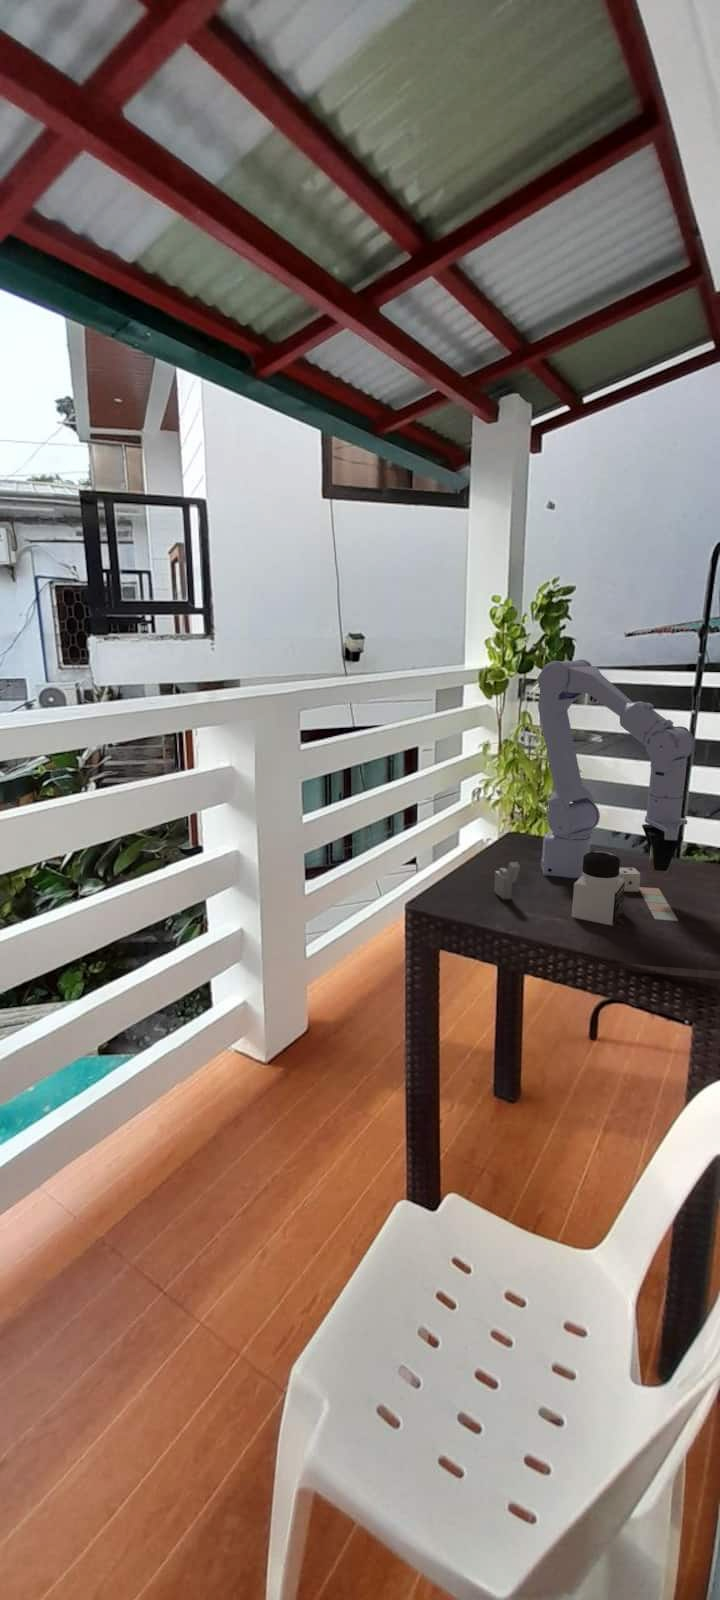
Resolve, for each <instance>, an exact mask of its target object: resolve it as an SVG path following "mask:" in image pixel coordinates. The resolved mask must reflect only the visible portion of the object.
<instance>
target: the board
mask: <svg viewBox="0 0 720 1600" xmlns="http://www.w3.org/2000/svg"><path fill="white" fill-rule="evenodd" d="M639 892H640V893H641V896H642V897H643V899H644V901H645V903H646V905H647V907H648V909H649V911H650V913H651V914H652V917H653V918H654V920H656V921H657V920H659V921H660V920H661V921H671V922H679V919H678V917H677V916H676V914H675V912H674V910H672V908H671V906H670V904H669V902H668V901H667V900H666V898H665V896H664V894H663V893H662V891H661V890H660V888H657V887H644V886H643V887H642V886H639Z"/></svg>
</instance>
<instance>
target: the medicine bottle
mask: <svg viewBox="0 0 720 1600" xmlns="http://www.w3.org/2000/svg"><path fill="white" fill-rule="evenodd" d="M620 866H621V859H620V858H619V856H617V855H616V854H613V853H611V852H608V851H600V850H599V851H598V850H596V851H591V852H590V853H587V854H585V855H584V857H583V870H582V876H581V877H580V878H577V880H576V881H575V882H574V884H573V892H572V894H573V895H572V896H573V897H572V904H571V905H572V907H571V918H573V919H578V920H583V921H590V922H594V923H598V924H599V923H600V924H604V925H609V926H615V924H616V922H617V921H618V920H619V918H620V916H621V915H622V913H623V905H624V897H625V896H624V895H625V894H624V893H625V891H624V885H625V880H624V879H621V878H619V868H621V867H620Z"/></svg>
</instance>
